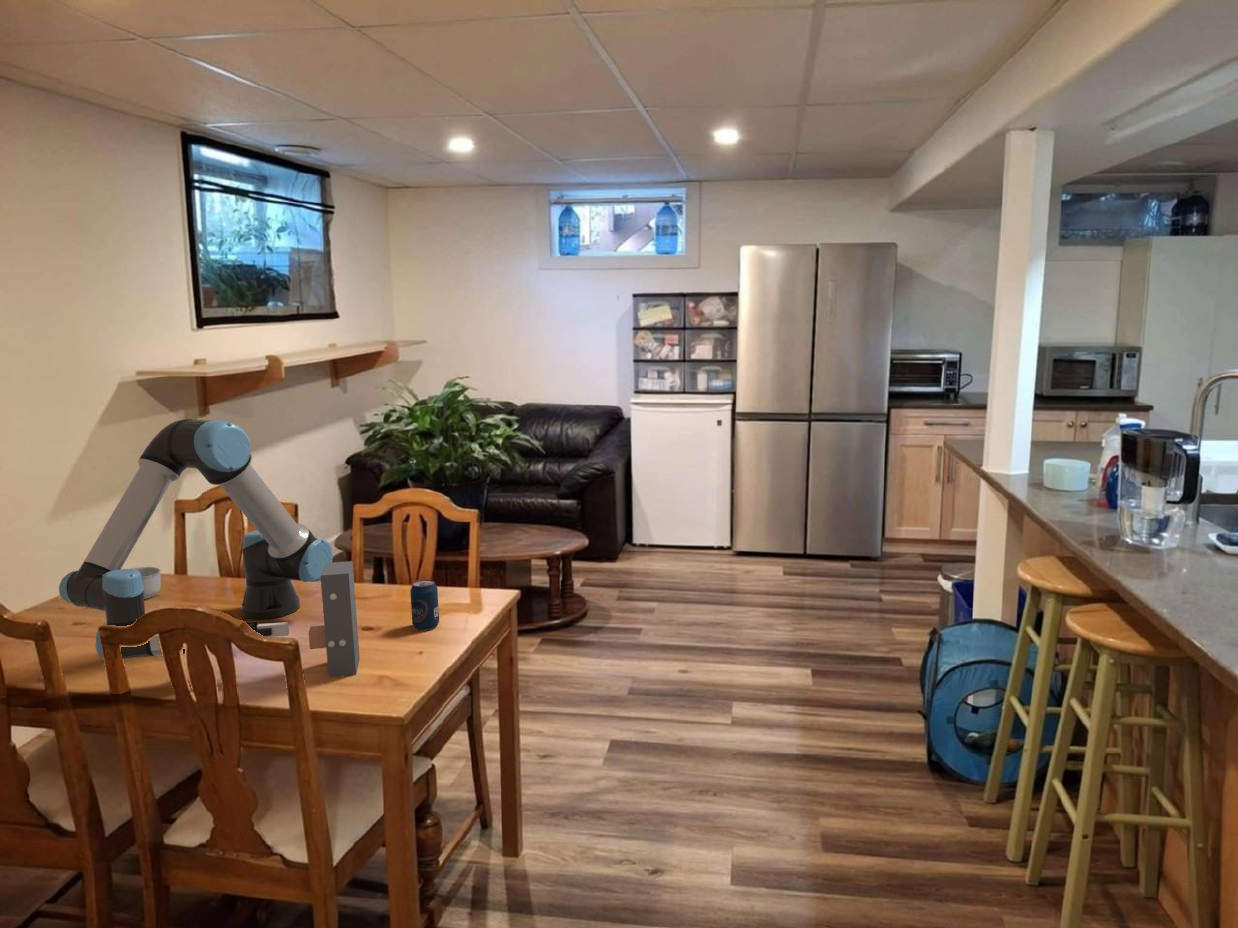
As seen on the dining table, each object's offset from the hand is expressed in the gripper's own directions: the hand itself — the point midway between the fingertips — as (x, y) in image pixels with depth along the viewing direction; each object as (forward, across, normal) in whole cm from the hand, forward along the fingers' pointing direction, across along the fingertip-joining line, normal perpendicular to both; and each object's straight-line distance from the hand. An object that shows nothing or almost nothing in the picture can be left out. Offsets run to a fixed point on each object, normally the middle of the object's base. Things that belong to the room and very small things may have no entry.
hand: (288, 628), depth 200 cm
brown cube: (+7, 0, -5) cm, 8 cm away
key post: (+12, 0, -11) cm, 16 cm away
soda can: (+30, -23, -10) cm, 39 cm away
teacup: (-53, -69, -11) cm, 88 cm away
